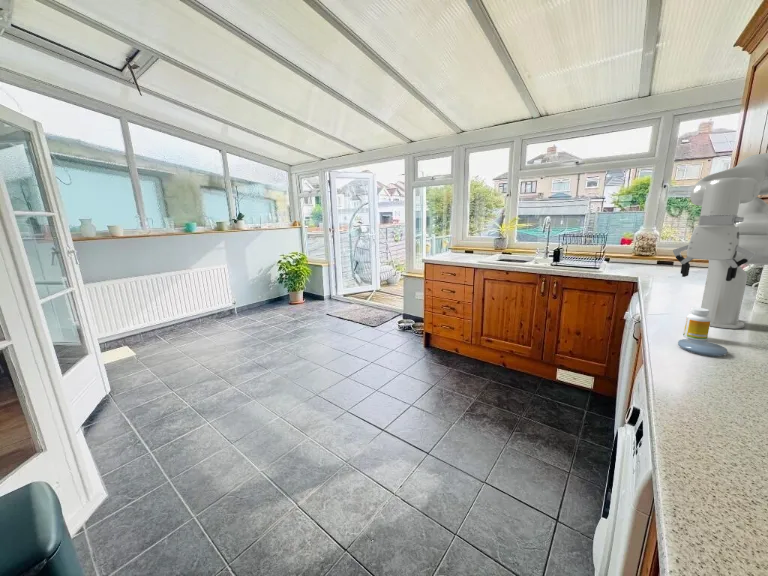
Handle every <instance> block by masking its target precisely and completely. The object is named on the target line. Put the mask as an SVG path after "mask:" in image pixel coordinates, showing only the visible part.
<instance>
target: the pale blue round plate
mask: <svg viewBox="0 0 768 576" xmlns="http://www.w3.org/2000/svg"><path fill="white" fill-rule="evenodd" d="M677 345H678V347H679V348H681V349H684V350H685V351H687V352H690V353H693V354H696V355H701V356H707V357H719V356H722V357H723V356H725V355H727V353H728V349H727V348H726V347H725V346H723V345H720V344H717V343H715V342H710V341H707V340H705V341H701V340H694V339H688V338H684V339H683V338H682V339H679V340H678V342H677Z"/></svg>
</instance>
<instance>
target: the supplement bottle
mask: <svg viewBox="0 0 768 576" xmlns="http://www.w3.org/2000/svg"><path fill="white" fill-rule="evenodd" d="M708 314H709V310H708V309H704V308H701V307H691V309H690V313H689V314H687V316H686V319H685V325H684V331H683V337H684V338H685V339H694V340H701V341H707V340H708V336H709V332H710V331H709V330H710V327H711V326H710V321H711V319H710V317H708V316H707V315H708Z"/></svg>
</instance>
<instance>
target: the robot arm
mask: <svg viewBox="0 0 768 576" xmlns="http://www.w3.org/2000/svg"><path fill="white" fill-rule="evenodd" d="M767 195H768V152H765V153H764V152H763V153H758V154H754V155H750V156H747V157H746V158H744V159H742V160H741V161H740V162H739V163H738V164H737V165H736V166H734V167H732V168H728V169H725V170H722V171H718V172H715V173H712V174H708V175H706V176H704V177H702V178H701V179H700V180H699V181H698V182H696V183H695V185H693V187H692V189H691V191H690V195H689V197H690V202H691V203H692V204H693V205H695V206H700V207H701V208H700V215H699V219H698V225H697V226H695V227H694V229H693V232H692V234H691V236H690V239H689V242H688V244H687V245H684V246H681V247H679V248H675V249H673V250H672V253H673V255H674V256H675V259H676V260H677V261H678V262H679V264H681V267H680V274H681V278H682V277H684V278H686V277H688V276H689V273H690V268H691V267H690V266H691V264H690V262H691V261H693V260H702V261H703V260H705V261H706V260H707V261H708V265H707V266H708V268H707V274H706V280H705V285H704V290H703V295H702V300H701V304H700V308H704V309H708V310H709V314H708V315H707V316H708V317H710V319H711V321H710V326H709V327H713V328H714V327H715V328H721V329H732V330H733V329H734V330H735V329H742V328H744V327H745V323H744V322H743V321H741V320H739V317H740V314H741V309H742V305H743V301H744V296H745V290H746V288H747V287H746V285H747V281H748V275H747V273H746V271H745V270H744V269H743V268H742V267H741V266H742V265H744V264H745V265H761V266H768V203H767V202H766V201H764V200H763V199H762V198H761V197H759V196H767ZM683 251H686V257H684V256H683V255H682V252H683Z"/></svg>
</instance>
